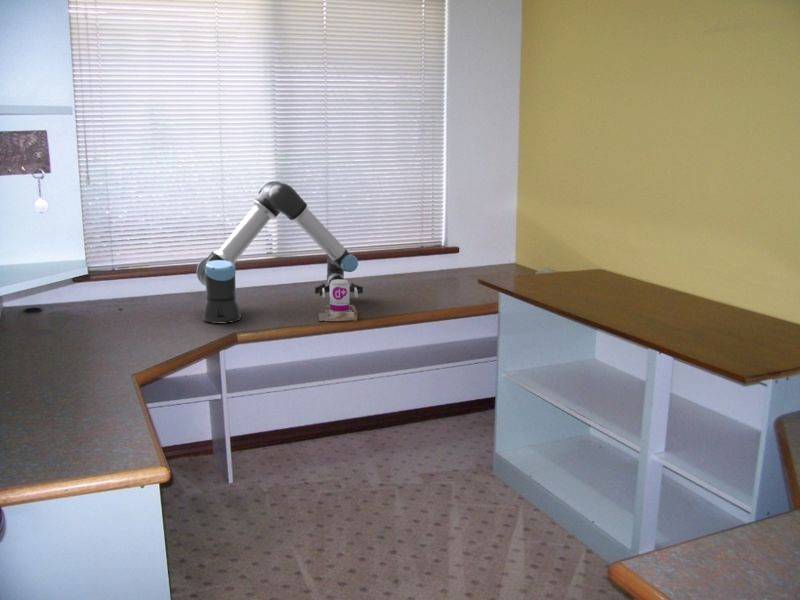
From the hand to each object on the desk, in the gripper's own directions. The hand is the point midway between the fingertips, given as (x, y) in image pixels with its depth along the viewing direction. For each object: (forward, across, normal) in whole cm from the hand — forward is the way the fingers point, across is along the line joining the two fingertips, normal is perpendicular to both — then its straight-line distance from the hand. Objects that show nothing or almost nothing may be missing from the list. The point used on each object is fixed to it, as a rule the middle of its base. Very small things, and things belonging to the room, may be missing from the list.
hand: (340, 294), depth 312 cm
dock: (-1, +1, -10) cm, 10 cm away
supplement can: (-1, 0, -10) cm, 10 cm away
